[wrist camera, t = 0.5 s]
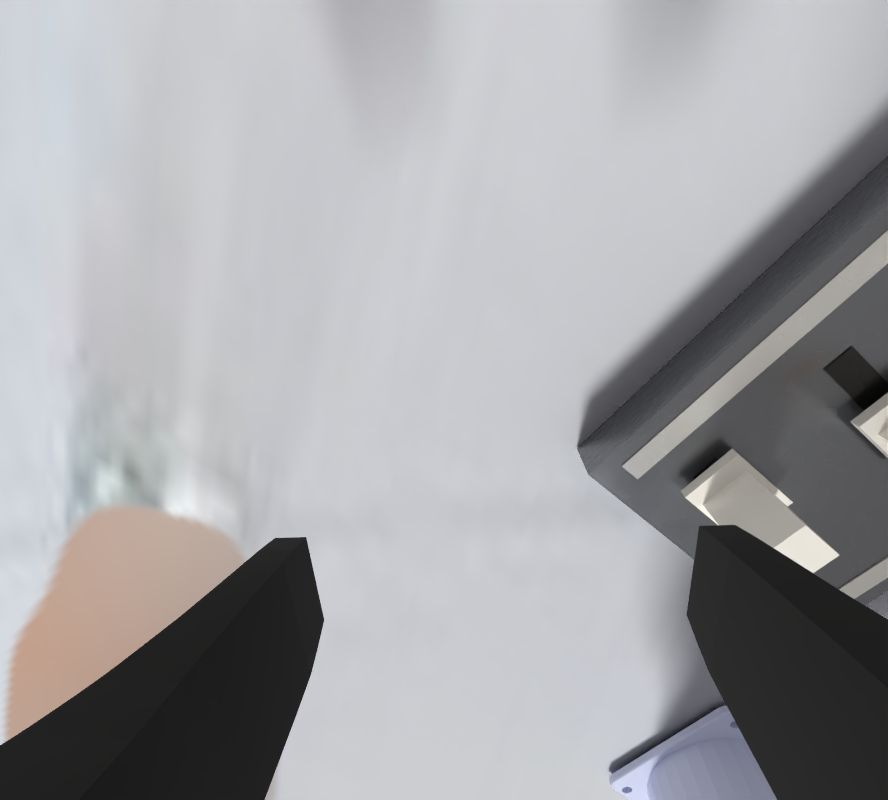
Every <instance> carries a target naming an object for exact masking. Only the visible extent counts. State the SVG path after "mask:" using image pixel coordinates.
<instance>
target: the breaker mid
mask: <svg viewBox="0 0 888 800" xmlns="http://www.w3.org/2000/svg"><path fill="white" fill-rule="evenodd" d="M850 422H851V423H852V424H853V425H854V426H855V427H856V428H857V429H858V430H859V431H860V432H861V433H862V434H863V435H864V436H865V437H866V438H867V439H868V440H869V441H870V442H871V443H873V444H874V445H875V446H876V447H877V448H878V449H879V450H880V451H881V452H882V453H883V454H884V455H885V456H886V457H887V458H888V393H887V394H885V395H884V396H883V397H881V398H880V399H879V400H877V401H876V402H875V403H874V404H872V405H871V406H870V407H868V408H867V409H866V410H864V411H863V412H862V413H861V414H859V415H858V416H857V417H855V418H854V419H853V420H852V421H850Z"/></svg>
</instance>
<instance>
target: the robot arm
mask: <svg viewBox="0 0 888 800" xmlns="http://www.w3.org/2000/svg"><path fill="white" fill-rule="evenodd" d="M687 616H688V619H689V622H690V624H691V627H692V630H693V632H694V635H695V638H696V640H697V643H698V646H699V648H700V650H701V653H702V655H703V658H704V660H705V663H706V665H707V668H708V670H709V672H710V674H711V676H712V678H713V680H714V682H715V684H716V686H717V688H718V690H719V692H720V694H721V696H722V698H723V699H724V701H725V703H726V705H725V706H721V707H719V708H717V709H716V710H714V711H712V712H711V713H709V714H708V715H706V716H704V717H703V718H701V719H699V720H698V721H696V722H695V723H693V724H691V725H690V726H688V727H687V728H685V729H683V730H682V731H680V732H679V733H677V734H675V735H674V736H672V737H671V738H669V739H667V740H666V741H664V742H662V743H661V744H659V745H658V746H656V747H654V748H653V749H651V750H650V751H648V752H646V753H645V754H643V755H642V756H640V757H638V758H637V759H635V760H634V761H632V762H630V763H629V764H627V765H626V766H624V767H622V768H621V769H619V770H617V771H616V772H614V773H613V774H611V775H610V777H609V781H610V785H611V787H612V788H613V789H614V790H615V791H617V792H619V793H620V794H622V795H623V796H625V797H627V798H628V799H630V800H888V619H886V618H884V617H883V616H881V615H879V614H878V613H876V612H874V611H873V610H871V609H869V608H868V607H866V606H865V605H863V604H861V603H860V602H858V601H856V600H855V599H853V598H852V597H850V596H848V595H847V594H845V593H844V592H842V591H840V590H839V589H837V588H836V587H834V586H832V585H831V584H829V583H828V582H826V581H825V580H823V579H821V578H820V577H818V576H817V575H815V574H814V573H812V572H810V571H809V570H807V569H806V568H804V567H803V566H801V565H799V564H798V563H796V562H795V561H793V560H792V559H790V558H788V557H787V556H785V555H784V554H782V553H781V552H779V551H777V550H776V549H774V548H773V547H771V546H770V545H768V544H766V543H765V542H763V541H762V540H760V539H758V538H757V537H755V536H753V535H752V534H750V533H748V532H747V531H745V530H743V529H741V528H740V527H738V526H736V525H712V526H699V530H698V537H697V544H696V552H695V559H694V566H693V573H692V581H691V588H690V595H689V602H688V610H687ZM323 622H324V618H323V613H322V608H321V604H320V599H319V595H318V590H317V585H316V581H315V576H314V572H313V567H312V562H311V558H310V553H309V549H308V544H307V539H306V537H299V538H275V539H273V540H272V541H271V542H270V543H268V544H267V545H266V546H264V547H263V548H262V549H261V550H259V551H258V552H257V553H256V554H254V555H253V556H252V557H251V558H250V559H248V560H247V561H246V562H245V563H244V564H243V565H241V566H240V567H239V568H238V569H237V570H236V571H234V572H233V573H232V574H231V575H230V576H228V577H227V578H226V579H225V580H224V581H222V582H221V583H220V584H219V585H218V586H217V587H215V588H214V589H213V590H212V591H210V592H209V593H208V594H207V595H206V596H204V597H203V598H202V599H201V600H200V601H198V602H197V603H196V604H195V605H194V606H192V607H191V608H190V609H189V610H188V611H186V612H185V613H184V614H183V615H182V616H180V617H179V618H178V619H177V620H175V621H174V622H173V623H171V624H170V625H169V626H168V627H166V628H165V629H164V630H163V631H161V632H160V633H159V634H157V635H156V636H155V637H153V638H152V639H151V640H149V641H148V642H147V643H146V644H144V645H143V646H142V647H141V648H139V649H138V650H137V651H135V652H134V653H133V654H131V655H130V656H129V657H128V658H126V659H125V660H124V661H122V662H121V663H120V664H119V665H117V666H116V667H115V668H113V669H112V670H111V671H109V672H108V673H106V674H105V675H104V676H103V677H101V678H100V679H98V680H97V681H95V682H94V683H93V684H91V685H90V686H88V687H87V688H85V689H84V690H83V691H81V692H80V693H78V694H77V695H76V696H74V697H73V698H71V699H70V700H68V701H67V702H65V703H64V704H62V705H61V706H59V707H58V708H56V709H55V710H54V711H52V712H51V713H49V714H48V715H46V716H45V717H43V718H42V719H40V720H39V721H37V722H36V723H34V724H33V725H31V726H30V727H29V728H27V729H25V730H24V731H22V732H21V733H19V734H18V735H16V736H15V737H13V738H11V739H10V740H8V741H7V742H5V743H3V744H2V745H0V800H264V799H265V797H266V794H267V792H268V789H269V786H270V784H271V781H272V778H273V775H274V773H275V770H276V767H277V765H278V762H279V759H280V757H281V754H282V751H283V749H284V746H285V743H286V741H287V738H288V735H289V733H290V730H291V727H292V725H293V722H294V719H295V717H296V714H297V711H298V708H299V706H300V703H301V700H302V698H303V695H304V692H305V689H306V687H307V684H308V681H309V678H310V675H311V672H312V668H313V664H314V660H315V656H316V652H317V648H318V644H319V640H320V635H321V631H322V627H323Z"/></svg>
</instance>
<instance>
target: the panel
mask: <svg viewBox="0 0 888 800" xmlns="http://www.w3.org/2000/svg"><path fill="white" fill-rule="evenodd" d="M887 393H888V157H887V158H886V159H885V160H884V161H883V162H882V163H881V164H880V165H878V166H877V167H876V168H875V169H874V170H873V171H872V172H871V173H870V174H869V175H868V176H867V177H866V178H865V179H864V180H862V181H861V182H860V183H859V184H858V185H857V186H856V187H855V188H854V189H853V190H852V191H851V192H850V193H849V194H848V195H847V196H845V197H844V198H843V199H842V200H841V201H840V202H839V203H838V204H837V205H836V206H835V207H834V208H833V209H832V210H831V211H830V212H828V213H827V214H826V215H825V216H824V217H823V218H822V219H821V220H820V221H819V222H818V223H817V224H816V225H815V226H814V227H812V228H811V229H810V230H809V231H808V232H807V233H806V234H805V235H804V236H803V237H802V238H801V239H800V240H799V241H798V242H797V243H795V244H794V245H793V246H792V247H791V248H790V249H789V250H788V251H787V252H786V253H785V254H784V255H783V256H782V257H781V258H780V259H778V260H777V261H776V262H775V263H774V264H773V265H772V266H771V267H770V268H769V269H768V270H767V271H766V272H765V273H764V274H762V275H761V276H760V277H759V278H758V279H757V280H756V281H755V282H754V283H753V284H752V285H751V286H750V287H749V288H748V289H747V290H745V291H744V292H743V293H742V294H741V295H740V296H739V297H738V298H737V299H736V300H735V301H734V302H733V303H732V304H731V305H730V306H728V307H727V308H726V309H725V310H724V311H723V312H722V313H721V314H720V315H719V316H718V317H717V318H716V319H715V320H714V321H712V322H711V323H710V324H709V325H708V326H707V327H706V328H705V329H704V330H703V331H702V332H701V333H700V334H699V335H698V336H697V337H695V338H694V339H693V340H692V341H691V342H690V343H689V344H688V345H687V346H686V347H685V348H684V349H683V350H682V351H681V352H680V353H678V354H677V355H676V356H675V357H674V358H673V359H672V360H671V361H670V362H669V363H668V364H667V365H666V366H665V367H664V368H662V369H661V370H660V371H659V372H658V373H657V374H656V375H655V376H654V377H653V378H652V379H651V380H650V381H649V382H648V383H647V384H645V385H644V386H643V387H642V388H641V389H640V390H639V391H638V392H637V393H636V394H635V395H634V396H633V397H632V398H631V399H630V400H628V401H627V402H626V403H625V404H624V405H623V406H622V407H621V408H620V409H619V410H618V411H617V412H616V413H615V414H614V415H612V416H611V417H610V418H609V419H608V420H607V421H606V422H605V423H604V424H603V425H602V426H601V427H600V428H599V429H598V430H597V431H595V432H594V433H593V434H592V435H591V436H590V437H589V438H588V439H587V440H586V441H585V442H584V443H583V444H582V445H581V446H580V447H578V448H577V450H578V452H579V454H580V457H581V459H582V461H583V463H584V466H585V468H586V470H587V472H588V475H590V476H591V477H592V478H593V479H595V480H596V481H597V482H598V483H600V484H601V485H602V486H603V487H605V488H606V489H607V490H608V491H610V492H611V493H612V494H613V495H615V496H616V497H617V498H618V499H619V500H621V501H622V502H623V503H624V504H626V505H627V506H628V507H629V508H631V509H632V510H633V511H634V512H636V513H637V514H638V515H639V516H641V517H642V518H643V519H644V520H646V521H647V522H648V523H649V524H651V525H652V526H653V527H654V528H656V529H657V530H658V531H659V532H661V533H662V534H663V535H664V536H666V537H667V538H668V539H669V540H671V541H672V542H673V543H674V544H676V545H677V546H678V547H679V548H681V549H682V550H683V551H684V552H686V553H687V554H688V555H689V556H691V557H692V558H693V559H695V552H696V544H697V537H698V530H699V526H712V525H717V524H716V523H715V522H714V521H712V520H711V519H710V518H709V517H708V516H706V515H705V514H704V513H703V512H702V511H700V510H699V509H698V508H697V507H696V506H694V505H693V504H692V503H691V502H690V501H688V500H687V499H686V498H685V497H684V496H683V494H682V493H681V492H680V491H681V490H682V489H684V488H685V487H686V486H687V485H688V484H690V483H691V482H692V481H693V480H695V479H696V478H697V477H698V476H699V475H701V474H702V473H703V472H704V471H705V470H707V469H708V468H709V467H710V466H712V465H713V464H714V463H715V462H716V461H718V460H719V459H720V458H721V457H722V456H724V455H725V454H726V453H727V452H729V451H730V450H731V449H734V450H735V451H736V452H737V453H738V454H739V455H740V456H741V457H743V458H744V459H745V460H746V461H747V462H748V463H749V464H750V465H752V466H753V467H754V468H755V469H756V470H757V471H758V472H759V473H761V474H762V475H763V476H764V477H765V478H766V479H767V480H768V481H770V482H771V483H772V484H773V485H774V486H775V487H776V488H777V489H779V490H780V491H781V492H782V493H783V494H784V495H785V496H786V497H788V498H789V499H790V500H791V501H792V502H793V503H792V504H790V505H789V506H788V507H789V508H790V509H791V510H792V511H793V512H794V513H795V514H796V515H797V516H798V517H799V518H800V519H801V520H803V521H804V522H805V523H806V524H807V525H808V526H809V527H810V528H811V529H812V530H813V531H814V532H815V533H816V534H818V535H819V536H820V537H821V538H822V539H823V540H824V541H825V542H826V543H827V544H828V545H829V546H830V547H832V548H833V549H834V550H835V551H836V552H837V553H838V554H839V556H838V557H836V558H835V559H833V560H832V561H830V562H829V563H827V564H826V565H825V566H823V567H822V568H820V569H819V570H817V571H816V572H814V574H815V575H817V576H818V577H820V578H821V579H823V580H825V581H826V582H828V583H829V584H831V585H832V586H834V587H836V588H837V589H839V590H840V591H842V592H844V593H845V594H847V595H848V596H850V597H852V598H853V599H855V600H856V601H858V602H860V603H861V604H863V605H865V604H867V603H869V602H870V601H872V600H873V599H875V598H877V597H878V596H880V595H881V594H883V593H885V592H886V591H888V458H887V457H886V456H885V455H884V454H883V453H882V452H881V451H880V450H879V449H878V448H877V447H876V446H875V445H874V444H873V443H871V442H870V441H869V440H868V439H867V438H866V437H865V436H864V435H863V434H862V433H861V432H860V431H859V430H858V429H857V428H856V427H855V426H854V425H853V424H852V423H851V422H850V421H852V420H853V419H854V418H855V417H857V416H858V415H859V414H861V413H862V412H863V411H864V410H866V409H867V408H868V407H870V406H871V405H872V404H874V403H875V402H876V401H877V400H879V399H880V398H881V397H883V396H884V395H885V394H887Z"/></svg>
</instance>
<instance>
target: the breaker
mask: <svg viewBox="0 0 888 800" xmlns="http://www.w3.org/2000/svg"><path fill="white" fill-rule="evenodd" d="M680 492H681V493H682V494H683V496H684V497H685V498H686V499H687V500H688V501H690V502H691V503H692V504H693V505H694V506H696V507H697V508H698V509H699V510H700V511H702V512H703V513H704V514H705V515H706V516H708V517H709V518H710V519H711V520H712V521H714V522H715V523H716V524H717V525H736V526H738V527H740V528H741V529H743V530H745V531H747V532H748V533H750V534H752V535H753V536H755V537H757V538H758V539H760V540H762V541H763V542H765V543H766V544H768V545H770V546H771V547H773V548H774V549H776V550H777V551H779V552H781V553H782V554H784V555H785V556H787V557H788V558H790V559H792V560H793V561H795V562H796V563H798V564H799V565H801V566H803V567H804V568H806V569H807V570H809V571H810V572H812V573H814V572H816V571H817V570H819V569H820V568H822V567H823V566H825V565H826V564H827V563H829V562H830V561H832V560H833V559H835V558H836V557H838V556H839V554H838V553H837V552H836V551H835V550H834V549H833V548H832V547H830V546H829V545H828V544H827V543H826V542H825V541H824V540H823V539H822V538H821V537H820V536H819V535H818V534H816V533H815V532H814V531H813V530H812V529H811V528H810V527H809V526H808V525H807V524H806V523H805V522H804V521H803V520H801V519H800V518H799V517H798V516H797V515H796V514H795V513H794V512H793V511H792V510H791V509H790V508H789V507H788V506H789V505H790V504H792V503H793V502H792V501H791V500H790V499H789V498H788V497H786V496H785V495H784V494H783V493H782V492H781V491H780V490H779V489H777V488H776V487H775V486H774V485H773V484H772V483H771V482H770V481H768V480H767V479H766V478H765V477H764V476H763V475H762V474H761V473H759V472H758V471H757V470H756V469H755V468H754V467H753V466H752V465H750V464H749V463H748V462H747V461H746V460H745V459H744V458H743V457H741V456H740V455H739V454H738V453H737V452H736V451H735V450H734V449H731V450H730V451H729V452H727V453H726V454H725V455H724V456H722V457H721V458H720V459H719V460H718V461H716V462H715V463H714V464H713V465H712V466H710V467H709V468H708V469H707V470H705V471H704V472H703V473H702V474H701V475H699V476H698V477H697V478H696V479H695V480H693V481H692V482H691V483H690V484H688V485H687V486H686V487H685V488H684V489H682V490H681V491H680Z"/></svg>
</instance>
